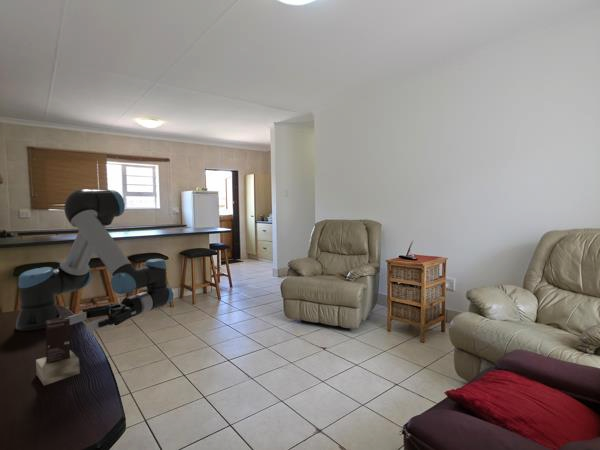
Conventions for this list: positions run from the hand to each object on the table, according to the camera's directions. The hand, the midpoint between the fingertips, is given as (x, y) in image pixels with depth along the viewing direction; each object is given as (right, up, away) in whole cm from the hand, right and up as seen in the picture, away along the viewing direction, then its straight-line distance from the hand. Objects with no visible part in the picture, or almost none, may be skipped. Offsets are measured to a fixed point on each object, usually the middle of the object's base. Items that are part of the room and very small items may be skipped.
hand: (76, 325), depth 107 cm
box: (-3, -9, -4) cm, 11 cm away
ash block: (-3, -14, -4) cm, 15 cm away
